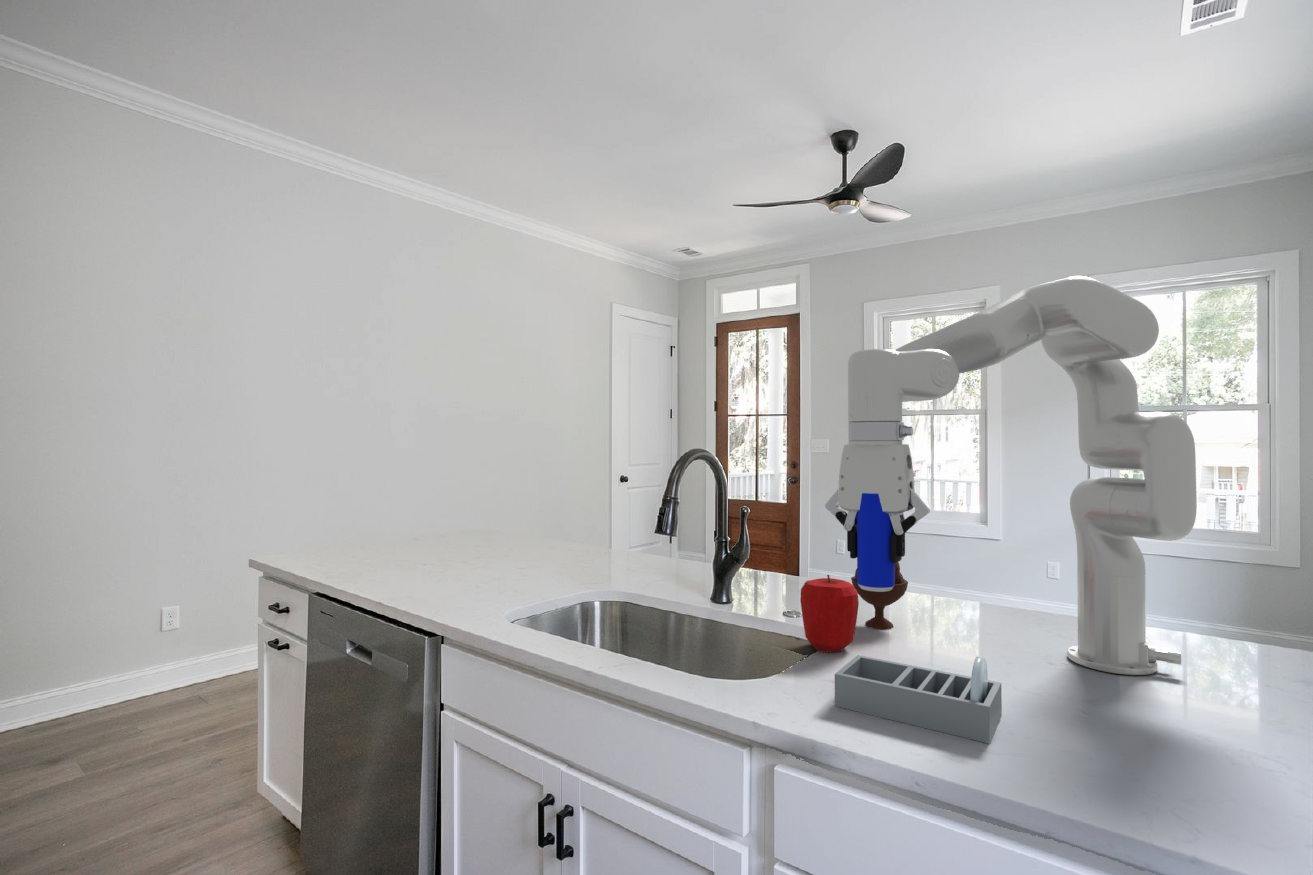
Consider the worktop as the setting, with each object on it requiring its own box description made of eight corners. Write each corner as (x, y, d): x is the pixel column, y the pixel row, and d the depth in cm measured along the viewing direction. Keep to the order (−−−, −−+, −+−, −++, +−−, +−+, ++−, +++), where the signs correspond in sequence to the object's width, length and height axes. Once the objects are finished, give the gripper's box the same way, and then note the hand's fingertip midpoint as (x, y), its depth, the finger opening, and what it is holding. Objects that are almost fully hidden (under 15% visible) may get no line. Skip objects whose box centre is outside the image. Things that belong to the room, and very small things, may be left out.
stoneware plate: (987, 708, 90) (987, 650, 90) (977, 729, 83) (977, 666, 83) (981, 707, 90) (981, 649, 90) (970, 727, 84) (970, 665, 84)
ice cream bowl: (898, 618, 138) (898, 548, 139) (914, 634, 127) (913, 557, 127) (847, 617, 140) (847, 547, 140) (858, 632, 128) (858, 556, 128)
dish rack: (1001, 715, 90) (1001, 682, 90) (989, 743, 82) (989, 706, 82) (857, 684, 101) (857, 654, 101) (834, 705, 93) (834, 673, 93)
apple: (857, 660, 112) (856, 582, 112) (797, 654, 116) (796, 577, 116) (860, 642, 122) (860, 570, 122) (805, 637, 126) (804, 567, 126)
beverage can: (894, 585, 96) (893, 484, 96) (895, 593, 92) (894, 487, 92) (857, 583, 98) (857, 484, 98) (856, 590, 93) (856, 486, 93)
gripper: (943, 434, 93) (944, 561, 93) (827, 435, 103) (828, 549, 103) (930, 434, 87) (931, 570, 87) (809, 435, 97) (810, 557, 97)
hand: (875, 557), depth 95 cm, fingers closed on beverage can, 5 cm apart
